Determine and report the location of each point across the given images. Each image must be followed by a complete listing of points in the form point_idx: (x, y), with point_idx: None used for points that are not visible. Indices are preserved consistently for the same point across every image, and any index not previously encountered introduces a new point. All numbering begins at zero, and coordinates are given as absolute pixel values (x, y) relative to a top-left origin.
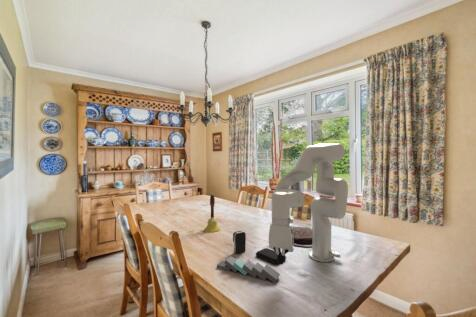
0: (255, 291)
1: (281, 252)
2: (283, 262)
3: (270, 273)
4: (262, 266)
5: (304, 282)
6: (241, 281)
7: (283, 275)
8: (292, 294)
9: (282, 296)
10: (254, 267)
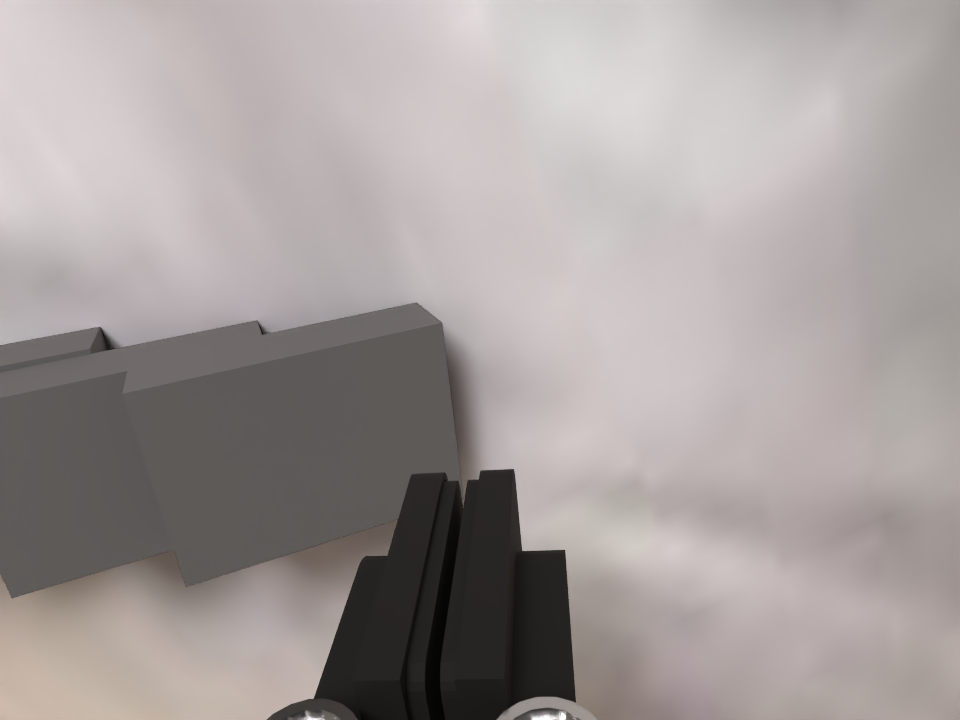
0: None
1: (399, 684)
2: (518, 514)
3: (332, 509)
4: (83, 393)
5: (860, 210)
6: (79, 613)
7: (461, 184)
8: (734, 570)
9: (632, 647)
10: (36, 580)
